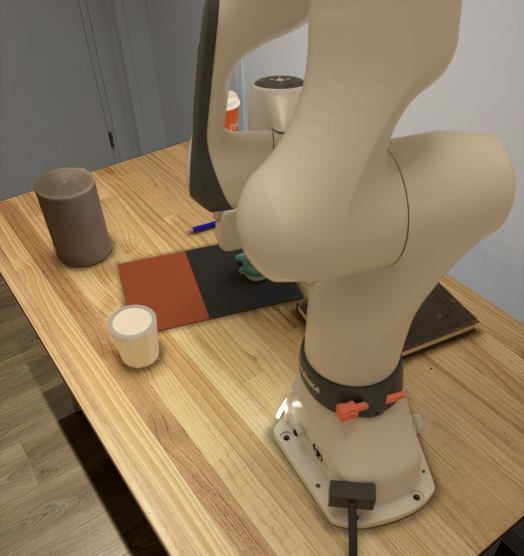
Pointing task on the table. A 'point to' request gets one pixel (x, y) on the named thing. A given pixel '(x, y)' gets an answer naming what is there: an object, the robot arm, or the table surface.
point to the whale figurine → (249, 268)
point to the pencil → (202, 227)
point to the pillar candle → (73, 216)
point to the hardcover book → (429, 322)
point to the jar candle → (135, 335)
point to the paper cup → (232, 112)
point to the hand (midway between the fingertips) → (276, 258)
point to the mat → (198, 286)
